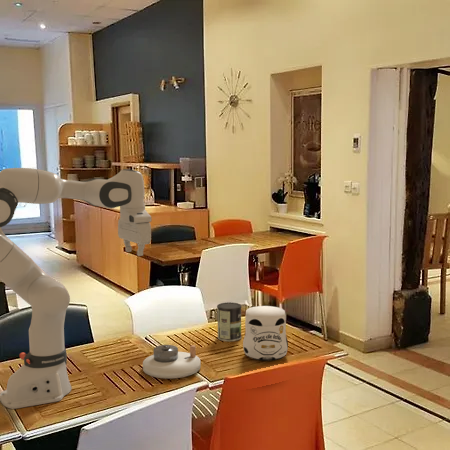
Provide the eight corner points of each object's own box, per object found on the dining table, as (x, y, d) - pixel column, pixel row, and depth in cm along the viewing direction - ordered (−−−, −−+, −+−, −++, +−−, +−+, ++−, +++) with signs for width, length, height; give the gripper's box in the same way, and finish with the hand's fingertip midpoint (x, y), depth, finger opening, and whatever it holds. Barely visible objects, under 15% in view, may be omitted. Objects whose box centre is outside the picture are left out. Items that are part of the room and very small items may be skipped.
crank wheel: (159, 383, 196) (159, 366, 196) (133, 364, 214) (132, 348, 213) (211, 369, 208) (211, 353, 207) (182, 352, 225) (182, 337, 224)
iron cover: (160, 364, 208) (160, 352, 207) (149, 356, 215) (149, 345, 215) (182, 359, 213) (182, 347, 212) (170, 352, 220) (170, 340, 220)
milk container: (264, 368, 211) (264, 321, 209) (233, 355, 224) (233, 310, 222) (297, 357, 222) (297, 312, 219) (266, 345, 235) (266, 302, 233)
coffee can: (241, 333, 250) (241, 302, 248) (241, 341, 240) (241, 308, 238) (217, 333, 250) (217, 302, 248) (216, 341, 240) (216, 308, 238)
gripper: (112, 213, 211) (114, 250, 213) (137, 218, 194) (138, 259, 196) (128, 211, 214) (130, 248, 216) (153, 217, 197) (155, 256, 199)
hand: (134, 253), depth 206 cm, fingers open, 8 cm apart
